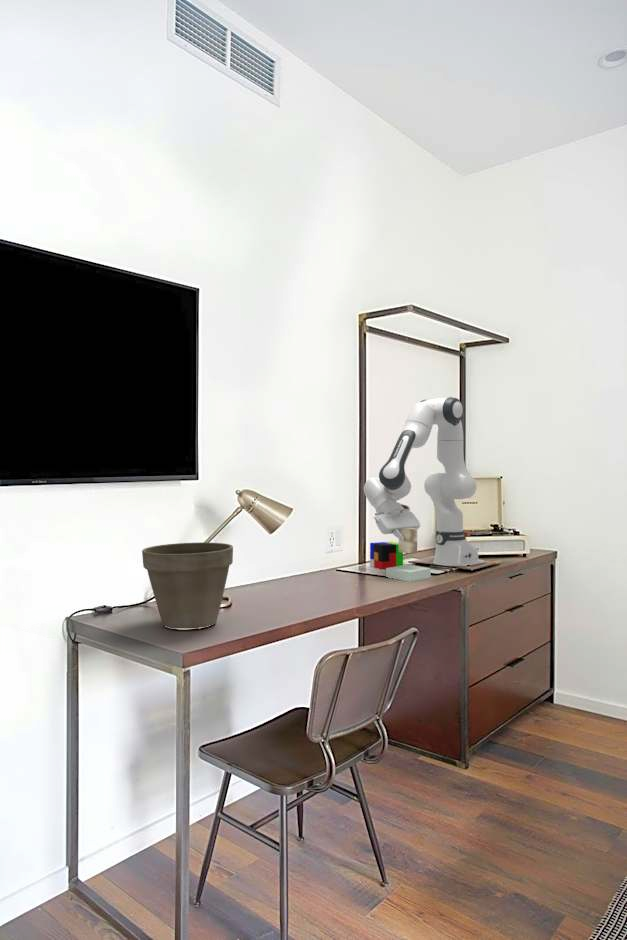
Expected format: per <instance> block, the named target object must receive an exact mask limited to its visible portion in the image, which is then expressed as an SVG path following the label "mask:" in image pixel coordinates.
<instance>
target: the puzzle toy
mask: <svg viewBox="0 0 627 940" xmlns="http://www.w3.org/2000/svg"><path fill="white" fill-rule="evenodd" d="M369 556H370V557H369V564H370V565H369V567H371V568H374V567H375V569H377V568H379V569H378V570H381V569H386V568H390V567H396V566H402V565H404V553H402V552H399V542H396V541H395V542H394V541H379V542H370V544H369Z"/></svg>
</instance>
